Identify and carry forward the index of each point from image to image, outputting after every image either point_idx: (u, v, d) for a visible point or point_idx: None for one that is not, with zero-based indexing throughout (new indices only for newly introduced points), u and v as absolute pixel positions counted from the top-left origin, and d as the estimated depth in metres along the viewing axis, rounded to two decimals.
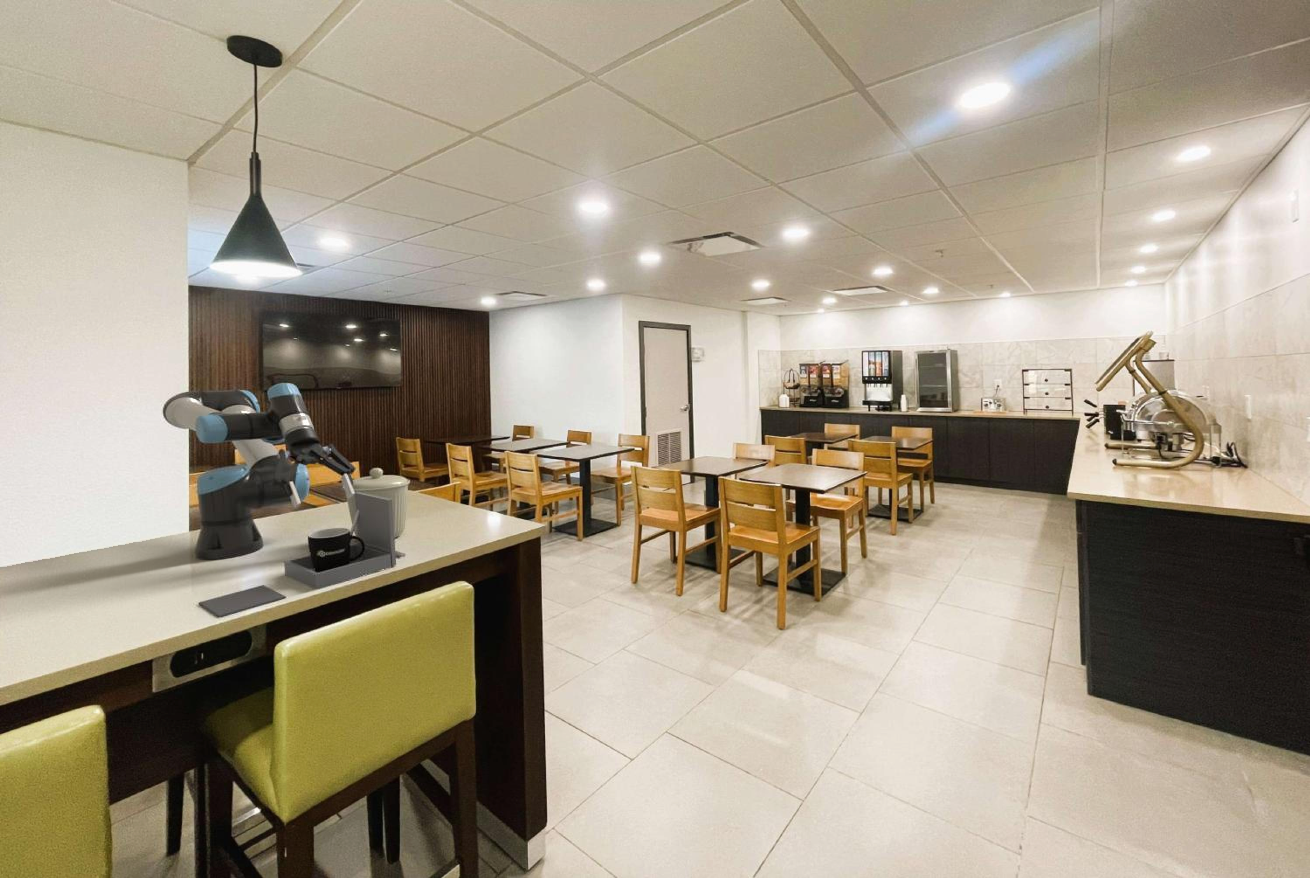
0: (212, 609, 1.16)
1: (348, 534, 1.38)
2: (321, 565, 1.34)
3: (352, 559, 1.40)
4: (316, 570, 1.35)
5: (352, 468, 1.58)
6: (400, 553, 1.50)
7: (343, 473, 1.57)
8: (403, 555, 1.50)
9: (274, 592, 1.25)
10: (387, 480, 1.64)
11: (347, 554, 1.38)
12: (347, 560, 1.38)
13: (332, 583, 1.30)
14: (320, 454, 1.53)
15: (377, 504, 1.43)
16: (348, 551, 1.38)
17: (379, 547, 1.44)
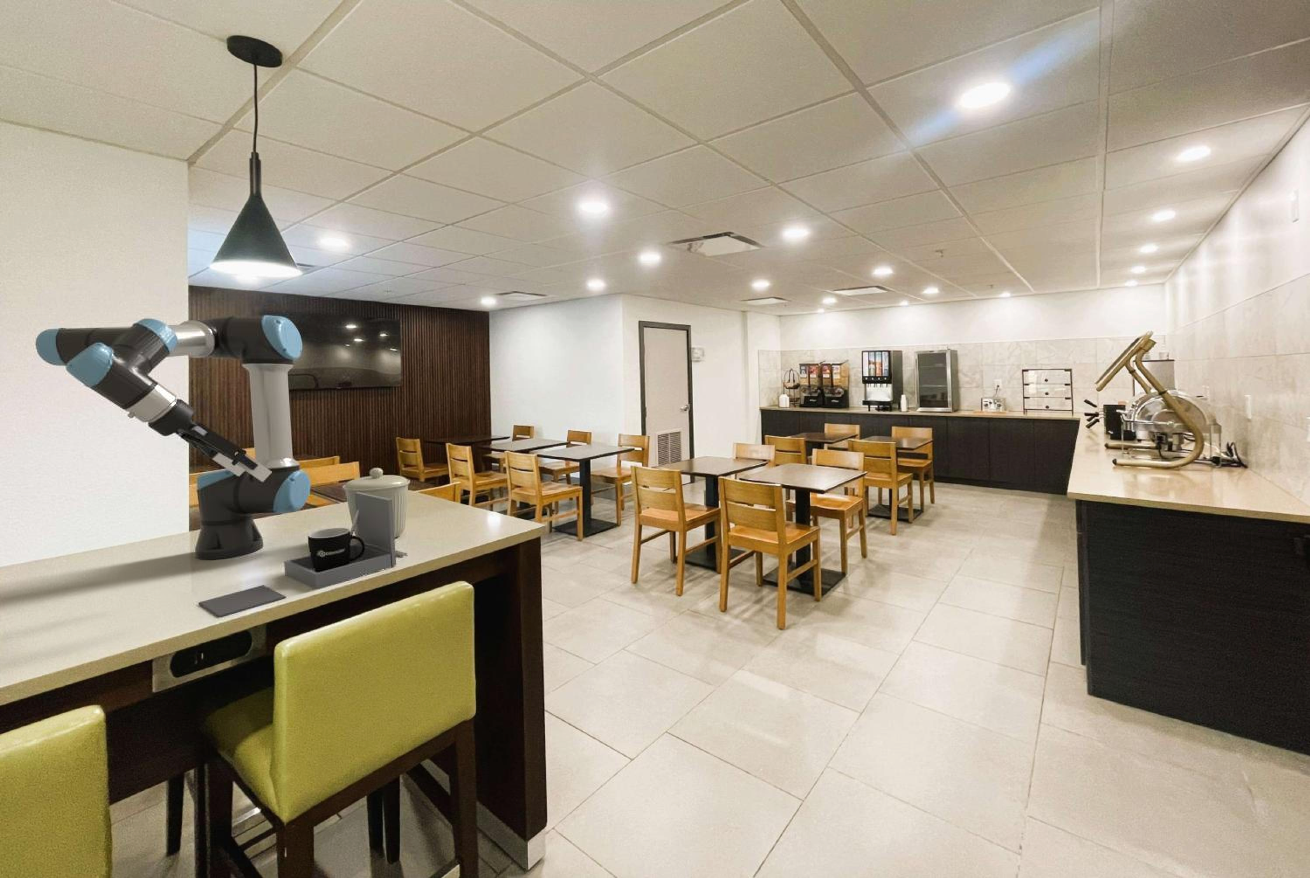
0: (212, 609, 1.16)
1: (348, 534, 1.38)
2: (321, 565, 1.34)
3: (352, 559, 1.40)
4: (316, 570, 1.35)
5: None
6: (402, 553, 1.51)
7: None
8: (405, 554, 1.50)
9: (274, 592, 1.25)
10: (387, 480, 1.64)
11: (347, 554, 1.38)
12: (347, 560, 1.38)
13: (332, 583, 1.30)
14: (196, 443, 1.16)
15: (377, 504, 1.43)
16: (348, 551, 1.38)
17: (379, 547, 1.44)
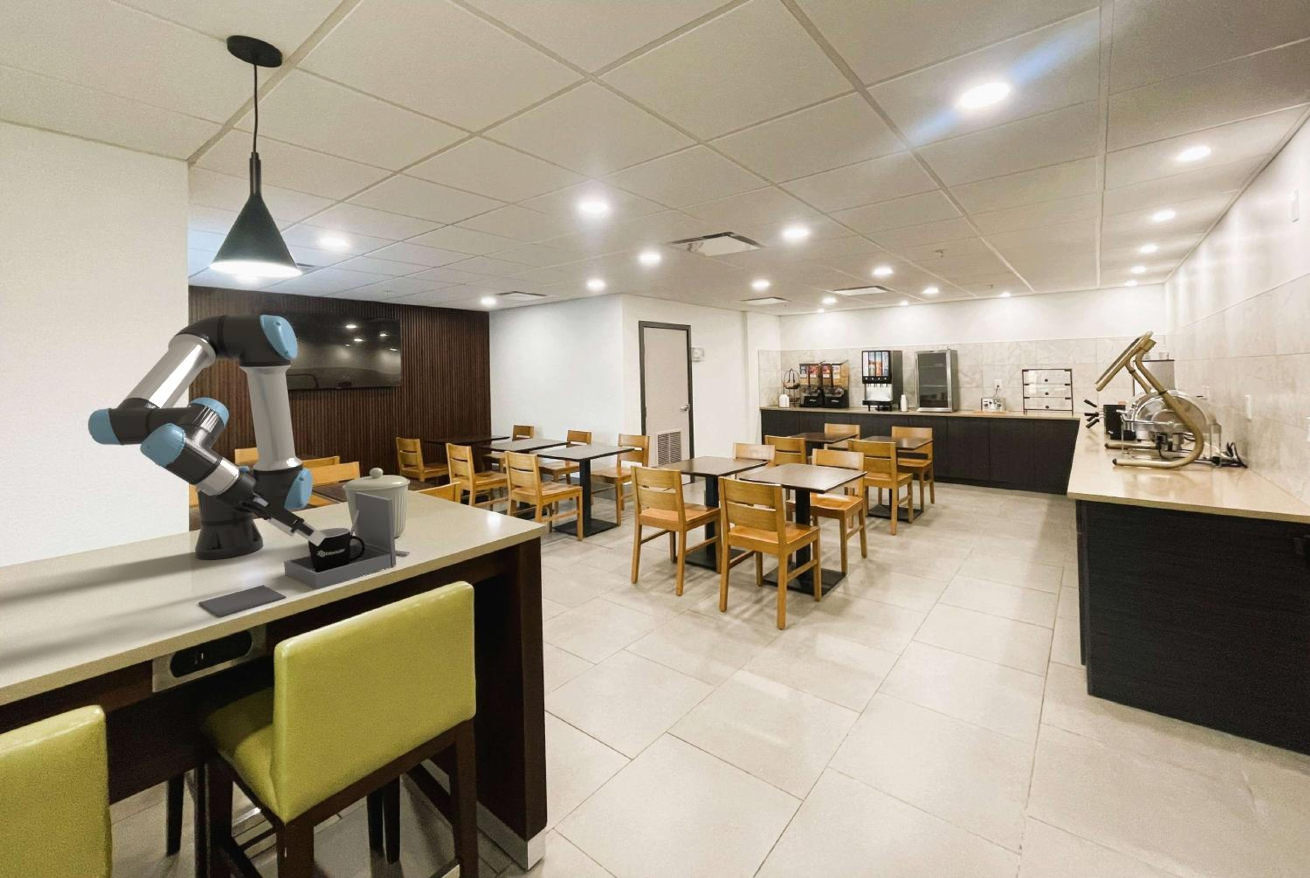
0: (212, 609, 1.16)
1: (348, 534, 1.38)
2: (321, 565, 1.34)
3: (352, 559, 1.40)
4: (316, 570, 1.35)
5: None
6: (404, 552, 1.51)
7: None
8: (408, 553, 1.51)
9: (274, 592, 1.25)
10: (387, 480, 1.64)
11: (347, 554, 1.38)
12: (347, 560, 1.38)
13: (332, 583, 1.30)
14: (257, 512, 1.21)
15: (377, 504, 1.43)
16: (348, 551, 1.38)
17: (379, 547, 1.44)
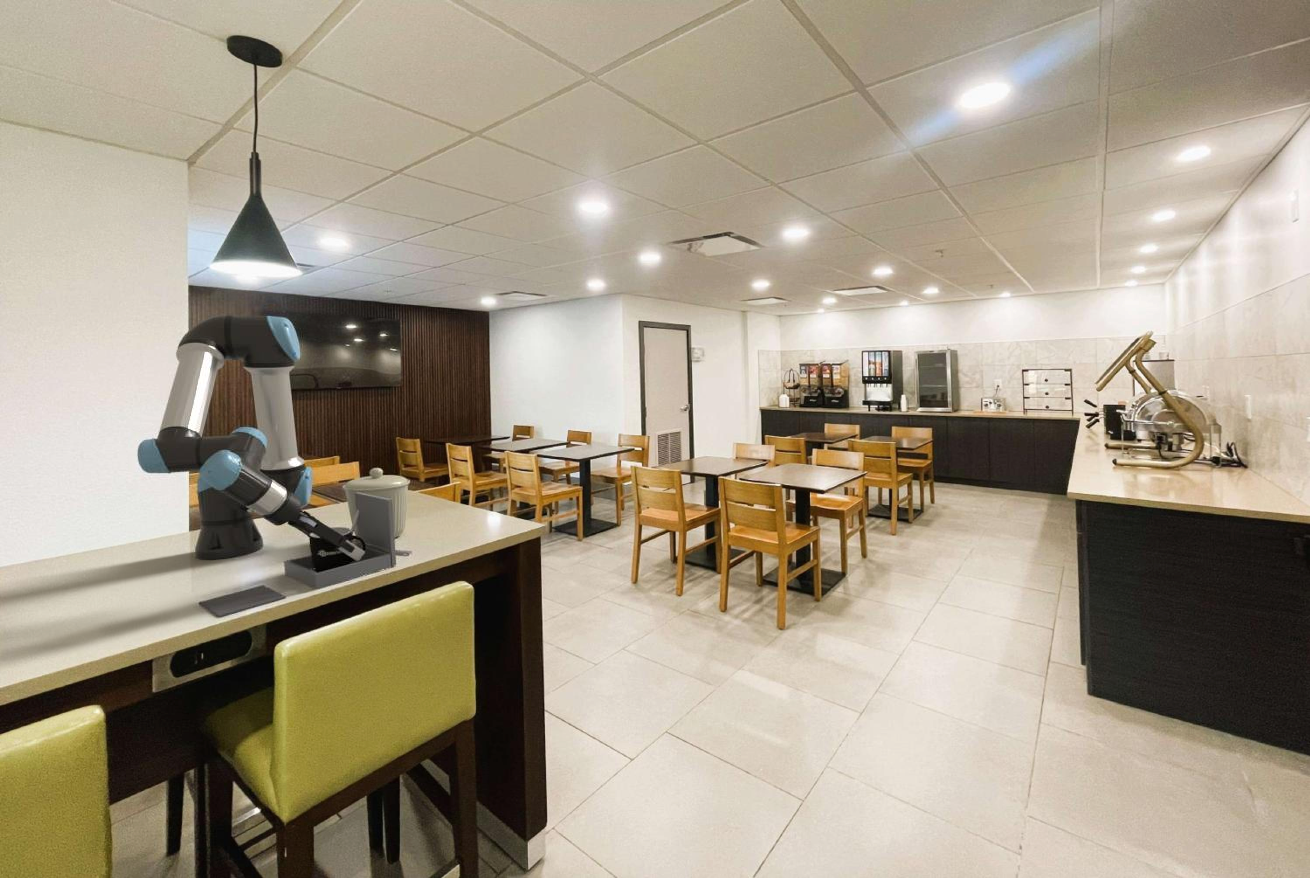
0: (212, 609, 1.16)
1: (350, 534, 1.38)
2: (321, 564, 1.34)
3: (352, 559, 1.40)
4: (316, 569, 1.35)
5: None
6: (406, 551, 1.52)
7: None
8: (410, 552, 1.52)
9: (274, 592, 1.25)
10: (387, 480, 1.64)
11: None
12: (347, 560, 1.38)
13: (332, 583, 1.30)
14: (303, 530, 1.30)
15: (377, 504, 1.43)
16: None
17: (379, 547, 1.44)
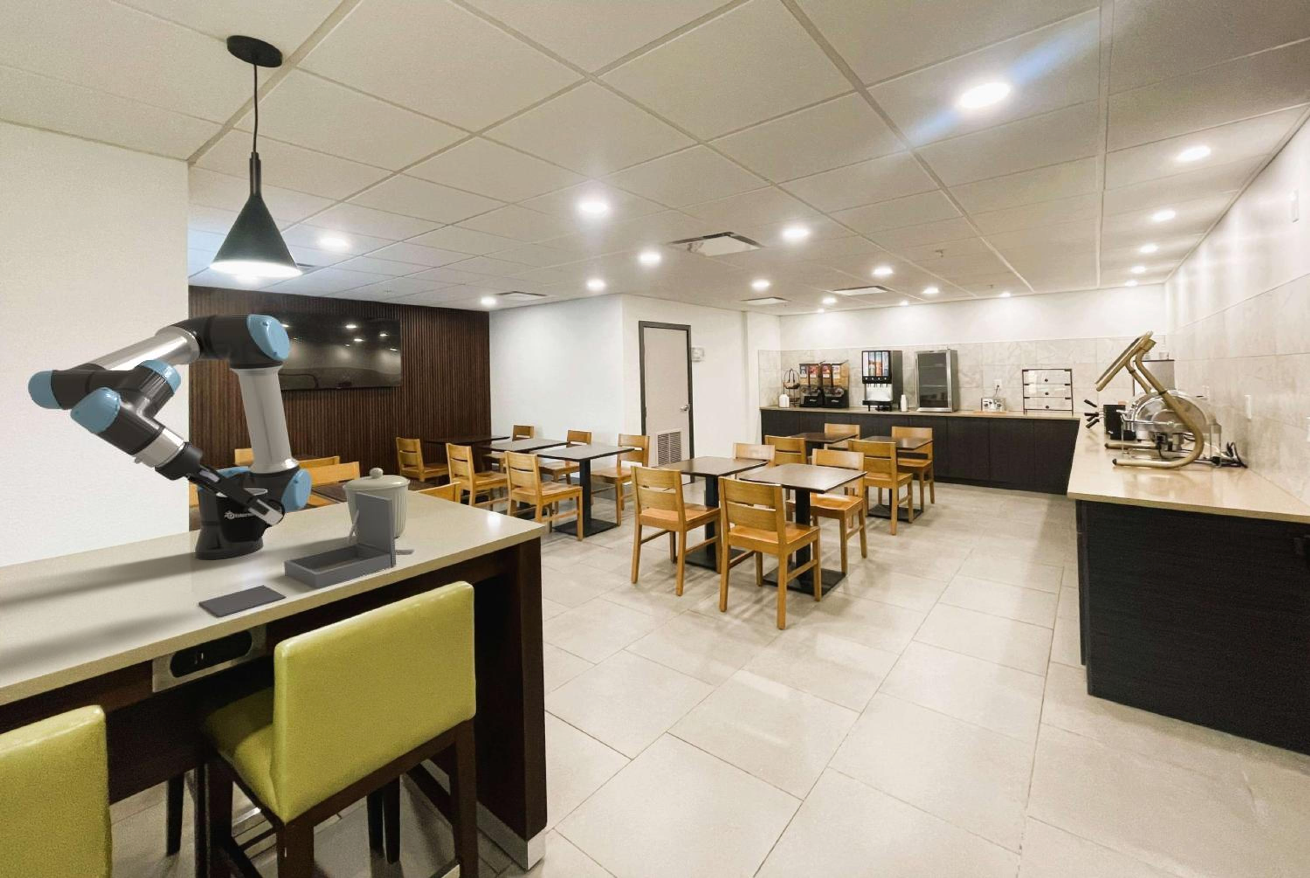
0: (212, 609, 1.16)
1: (265, 495, 1.20)
2: (229, 528, 1.16)
3: (269, 524, 1.22)
4: (224, 534, 1.17)
5: None
6: (408, 550, 1.53)
7: None
8: (412, 551, 1.53)
9: (274, 592, 1.25)
10: (387, 480, 1.64)
11: None
12: (262, 525, 1.20)
13: (332, 583, 1.30)
14: (205, 487, 1.13)
15: (377, 504, 1.43)
16: None
17: (379, 547, 1.44)
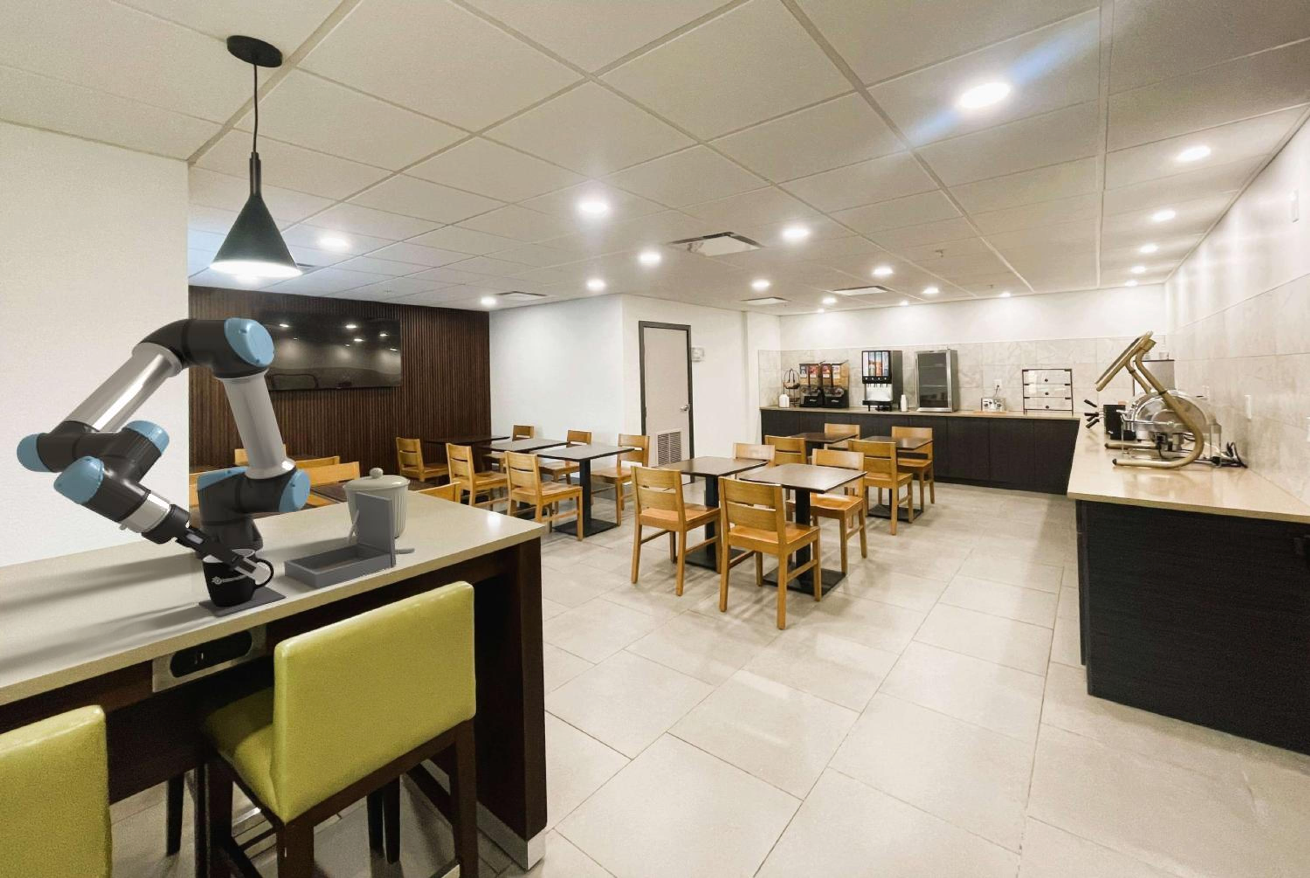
0: (212, 609, 1.16)
1: (252, 557, 1.19)
2: (217, 594, 1.15)
3: (258, 585, 1.21)
4: (212, 599, 1.16)
5: None
6: (409, 549, 1.54)
7: None
8: (414, 550, 1.54)
9: (274, 592, 1.25)
10: (387, 480, 1.64)
11: (250, 580, 1.19)
12: (251, 587, 1.19)
13: (332, 583, 1.30)
14: None
15: (377, 504, 1.43)
16: None
17: (379, 547, 1.44)
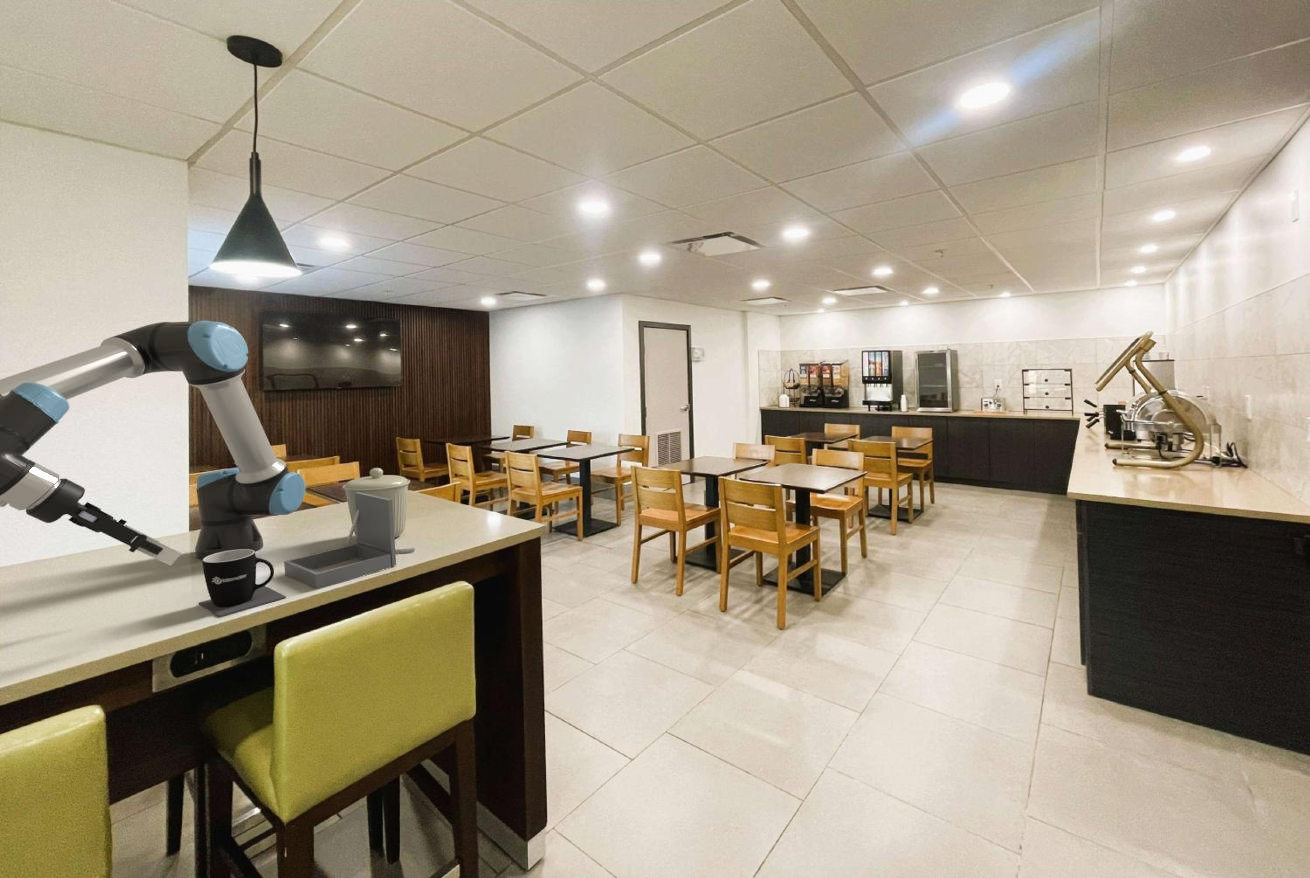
0: (212, 609, 1.16)
1: (252, 557, 1.19)
2: (217, 594, 1.15)
3: (258, 585, 1.21)
4: (212, 599, 1.16)
5: None
6: (409, 549, 1.54)
7: None
8: (414, 550, 1.54)
9: (274, 592, 1.25)
10: (387, 480, 1.64)
11: (250, 580, 1.19)
12: (251, 587, 1.19)
13: (332, 583, 1.30)
14: None
15: (377, 504, 1.43)
16: (252, 577, 1.19)
17: (379, 547, 1.44)
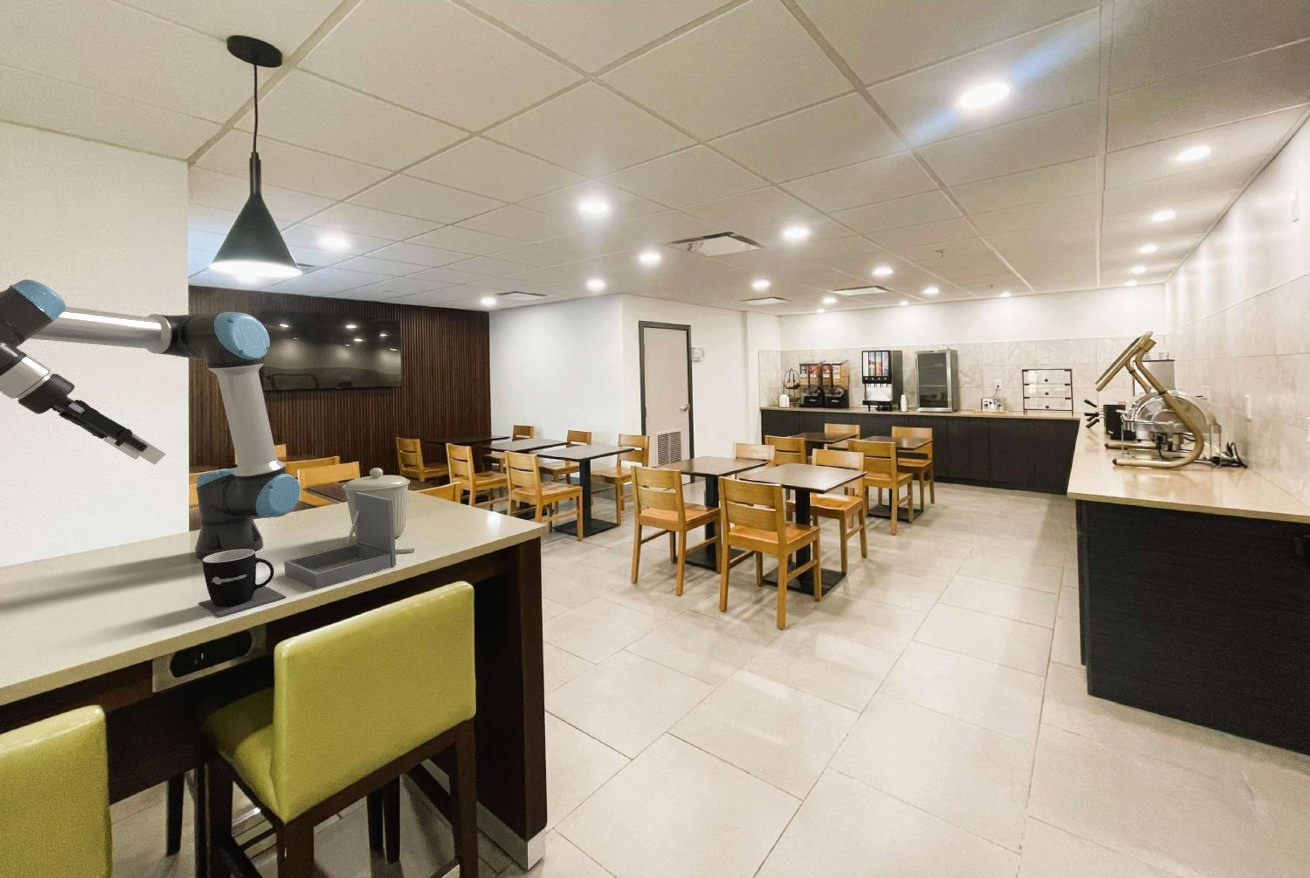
0: (212, 609, 1.16)
1: (252, 557, 1.19)
2: (217, 594, 1.15)
3: (258, 585, 1.21)
4: (212, 599, 1.16)
5: None
6: (409, 549, 1.54)
7: None
8: (414, 550, 1.54)
9: (274, 592, 1.25)
10: (387, 480, 1.64)
11: (250, 580, 1.19)
12: (251, 587, 1.19)
13: (332, 583, 1.30)
14: (76, 421, 1.06)
15: (377, 504, 1.43)
16: (252, 577, 1.19)
17: (379, 547, 1.44)
